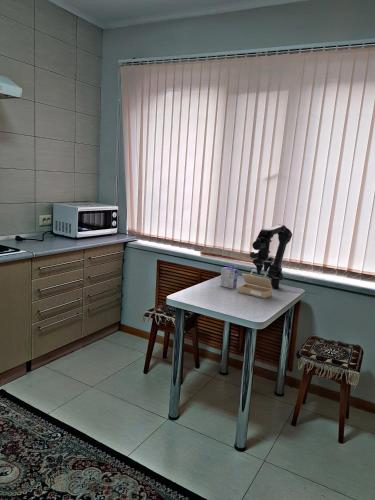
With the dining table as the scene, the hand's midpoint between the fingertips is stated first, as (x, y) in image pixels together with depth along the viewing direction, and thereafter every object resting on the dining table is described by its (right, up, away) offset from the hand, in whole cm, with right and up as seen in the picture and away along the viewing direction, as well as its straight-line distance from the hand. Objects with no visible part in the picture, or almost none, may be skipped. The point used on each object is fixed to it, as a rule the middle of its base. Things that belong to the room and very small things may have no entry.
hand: (261, 273), depth 243 cm
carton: (-5, -12, -4) cm, 14 cm away
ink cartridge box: (-20, -9, +9) cm, 24 cm away
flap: (-4, -5, -4) cm, 7 cm away
